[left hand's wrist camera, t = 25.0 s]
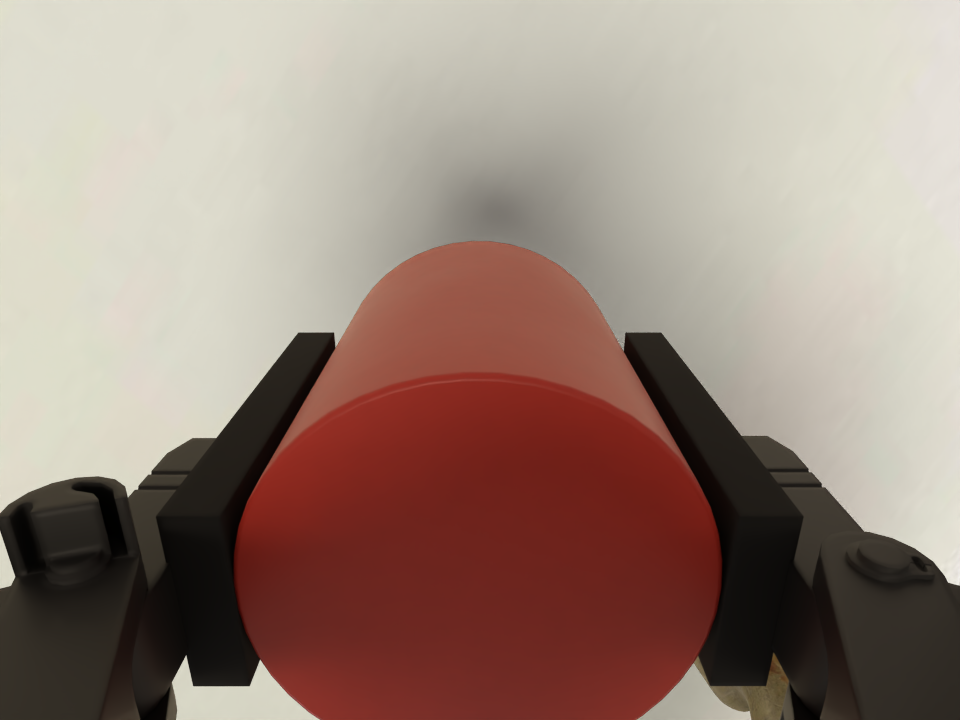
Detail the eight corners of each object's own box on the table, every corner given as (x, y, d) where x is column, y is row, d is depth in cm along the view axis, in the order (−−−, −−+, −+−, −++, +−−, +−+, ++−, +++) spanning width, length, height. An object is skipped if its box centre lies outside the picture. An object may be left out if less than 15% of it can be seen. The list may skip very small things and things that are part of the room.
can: (531, 524, 16) (567, 818, 10) (303, 425, 15) (167, 679, 9) (665, 318, 14) (828, 510, 8) (413, 188, 13) (347, 278, 7)
